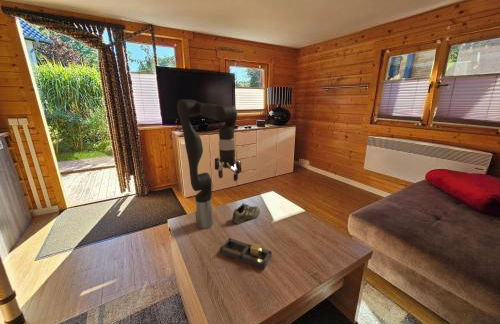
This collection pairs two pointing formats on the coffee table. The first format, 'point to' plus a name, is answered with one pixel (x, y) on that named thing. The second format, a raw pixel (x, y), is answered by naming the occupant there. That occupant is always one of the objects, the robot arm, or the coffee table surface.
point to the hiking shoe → (245, 213)
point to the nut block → (256, 250)
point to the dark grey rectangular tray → (245, 253)
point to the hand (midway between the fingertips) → (228, 179)
